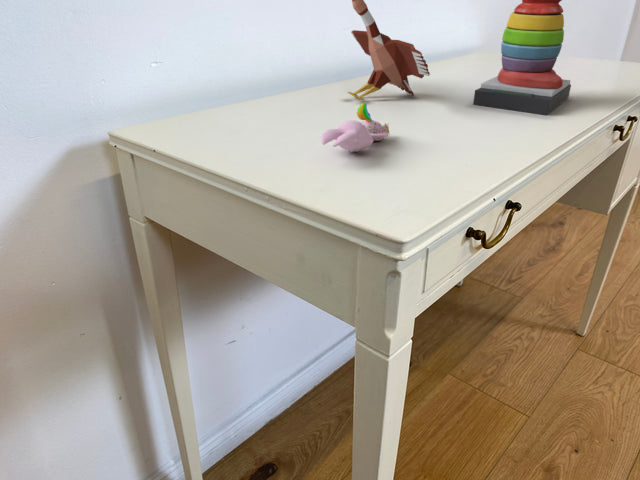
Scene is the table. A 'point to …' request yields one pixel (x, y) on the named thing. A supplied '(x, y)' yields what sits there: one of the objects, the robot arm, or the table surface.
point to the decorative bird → (386, 56)
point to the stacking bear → (532, 45)
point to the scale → (520, 97)
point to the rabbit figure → (356, 132)
